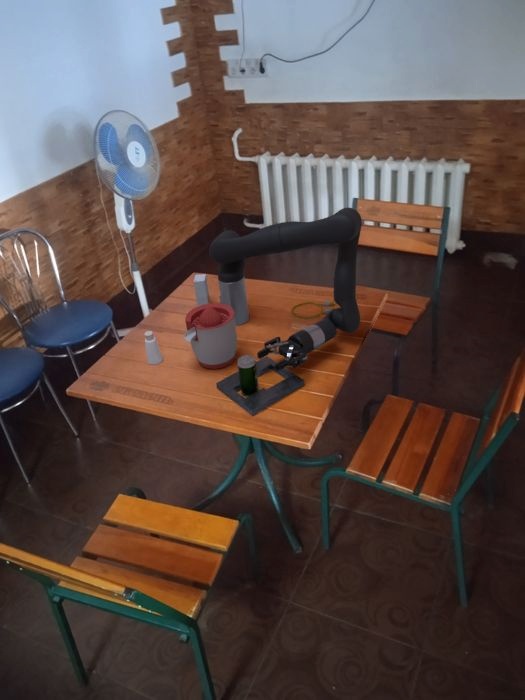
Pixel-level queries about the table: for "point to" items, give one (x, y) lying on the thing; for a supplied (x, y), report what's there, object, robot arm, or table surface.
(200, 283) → the skincare box
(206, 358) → the citrus juicer
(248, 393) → the green drink can
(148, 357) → the pepper shaker
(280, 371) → the keyhole plate
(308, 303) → the extension cord
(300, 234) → the robot arm
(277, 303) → the table surface
